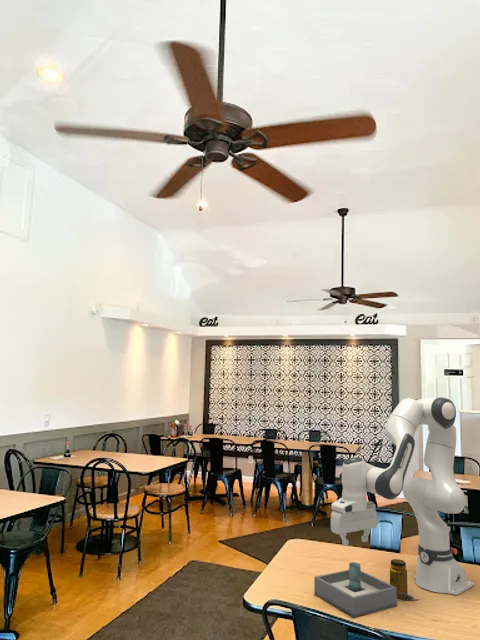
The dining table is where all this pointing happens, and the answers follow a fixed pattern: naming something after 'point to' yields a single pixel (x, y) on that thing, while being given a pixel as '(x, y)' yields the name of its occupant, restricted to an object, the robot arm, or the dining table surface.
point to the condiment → (400, 579)
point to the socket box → (355, 593)
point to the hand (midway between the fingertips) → (355, 543)
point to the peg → (354, 577)
